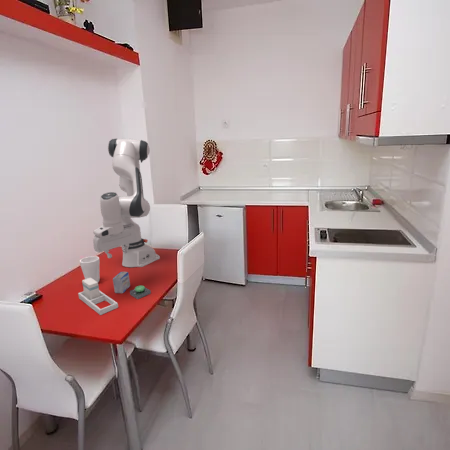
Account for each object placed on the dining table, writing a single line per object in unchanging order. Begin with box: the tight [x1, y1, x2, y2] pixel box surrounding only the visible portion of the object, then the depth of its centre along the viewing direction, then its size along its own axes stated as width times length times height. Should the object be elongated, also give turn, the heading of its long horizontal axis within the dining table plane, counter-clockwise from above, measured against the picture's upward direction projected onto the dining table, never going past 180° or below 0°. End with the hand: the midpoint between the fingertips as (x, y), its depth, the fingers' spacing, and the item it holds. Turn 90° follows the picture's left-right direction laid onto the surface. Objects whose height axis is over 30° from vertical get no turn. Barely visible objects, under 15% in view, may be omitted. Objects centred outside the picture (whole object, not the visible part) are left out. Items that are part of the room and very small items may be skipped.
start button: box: [134, 284, 146, 293], centre depth 152 cm, size 4×4×4 cm
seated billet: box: [81, 278, 100, 300], centre depth 150 cm, size 4×8×9 cm, turn 45°
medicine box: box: [112, 271, 131, 294], centre depth 158 cm, size 8×4×9 cm, turn 170°
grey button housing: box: [129, 287, 152, 300], centre depth 153 cm, size 7×7×3 cm
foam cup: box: [79, 255, 101, 283], centre depth 168 cm, size 10×9×13 cm
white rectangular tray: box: [77, 289, 119, 316], centre depth 147 cm, size 8×23×3 cm, turn 45°
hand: (118, 255), depth 155 cm, fingers open, 7 cm apart
